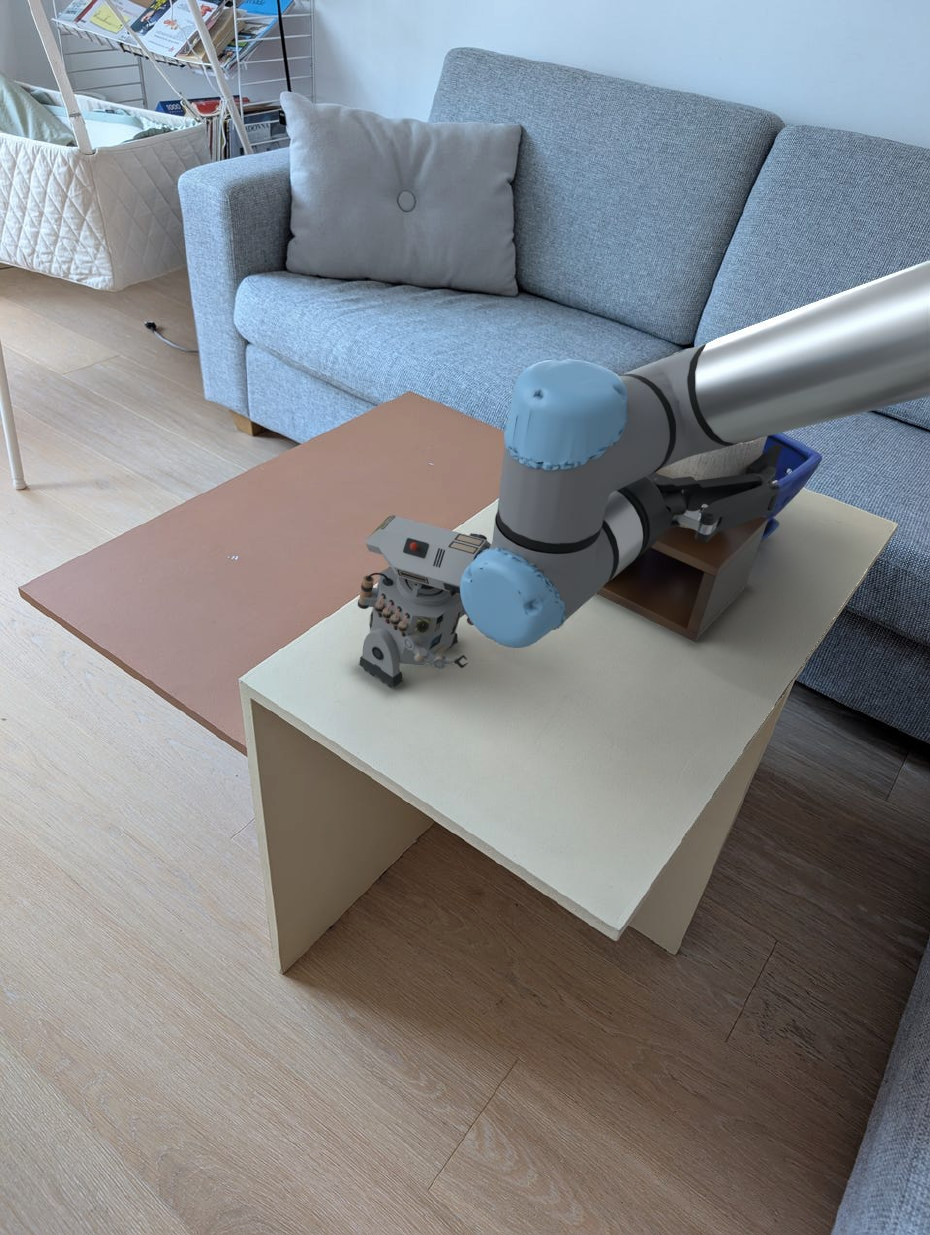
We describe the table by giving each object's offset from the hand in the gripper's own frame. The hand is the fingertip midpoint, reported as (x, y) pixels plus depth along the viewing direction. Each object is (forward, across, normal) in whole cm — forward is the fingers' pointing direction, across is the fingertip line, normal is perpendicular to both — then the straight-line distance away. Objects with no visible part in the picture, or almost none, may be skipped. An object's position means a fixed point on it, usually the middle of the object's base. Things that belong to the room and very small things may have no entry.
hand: (719, 436), depth 87 cm
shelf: (-4, 0, -17) cm, 17 cm away
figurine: (-31, -11, -17) cm, 37 cm away
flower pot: (+10, -1, -16) cm, 19 cm away
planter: (-4, 0, -6) cm, 7 cm away
